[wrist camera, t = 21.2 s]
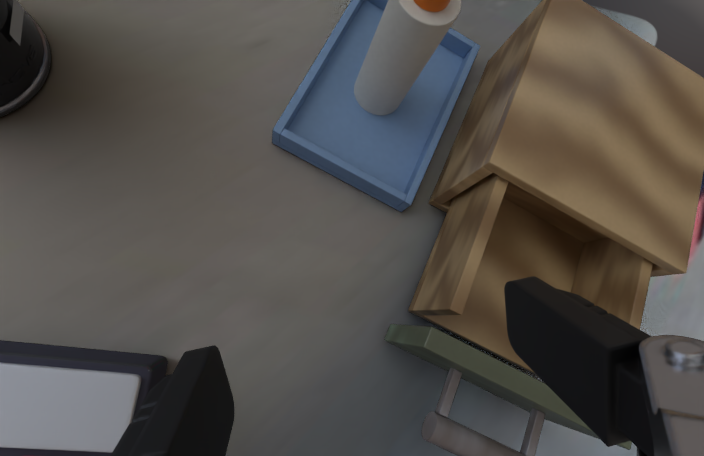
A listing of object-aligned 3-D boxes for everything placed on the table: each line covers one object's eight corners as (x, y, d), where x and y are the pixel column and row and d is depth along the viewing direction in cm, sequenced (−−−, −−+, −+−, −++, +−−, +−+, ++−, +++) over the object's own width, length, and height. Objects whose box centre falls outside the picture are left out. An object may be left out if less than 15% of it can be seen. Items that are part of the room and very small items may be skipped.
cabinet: (577, 284, 32) (686, 273, 24) (428, 203, 30) (489, 162, 22) (616, 137, 37) (718, 86, 28) (488, 61, 35) (557, -17, 27)
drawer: (528, 481, 26) (614, 535, 20) (358, 402, 25) (392, 431, 18) (589, 244, 32) (672, 226, 26) (453, 169, 31) (505, 129, 24)
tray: (271, 143, 28) (272, 130, 26) (359, -4, 33) (366, -24, 31) (401, 212, 30) (411, 205, 28) (468, 61, 34) (480, 45, 33)
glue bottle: (345, 99, 30) (396, -33, 19) (365, 62, 31) (425, -83, 20) (389, 124, 30) (466, 10, 19) (408, 87, 32) (490, -42, 20)
